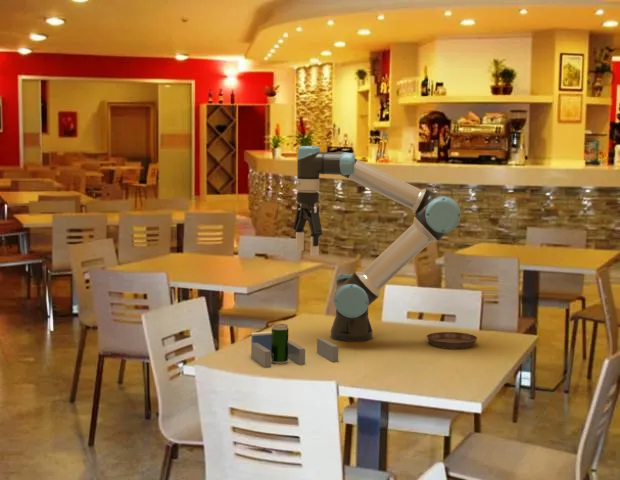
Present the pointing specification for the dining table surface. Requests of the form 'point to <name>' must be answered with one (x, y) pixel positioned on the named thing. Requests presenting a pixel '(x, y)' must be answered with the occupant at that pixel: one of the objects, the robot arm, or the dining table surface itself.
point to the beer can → (279, 343)
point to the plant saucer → (451, 339)
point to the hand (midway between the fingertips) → (306, 253)
